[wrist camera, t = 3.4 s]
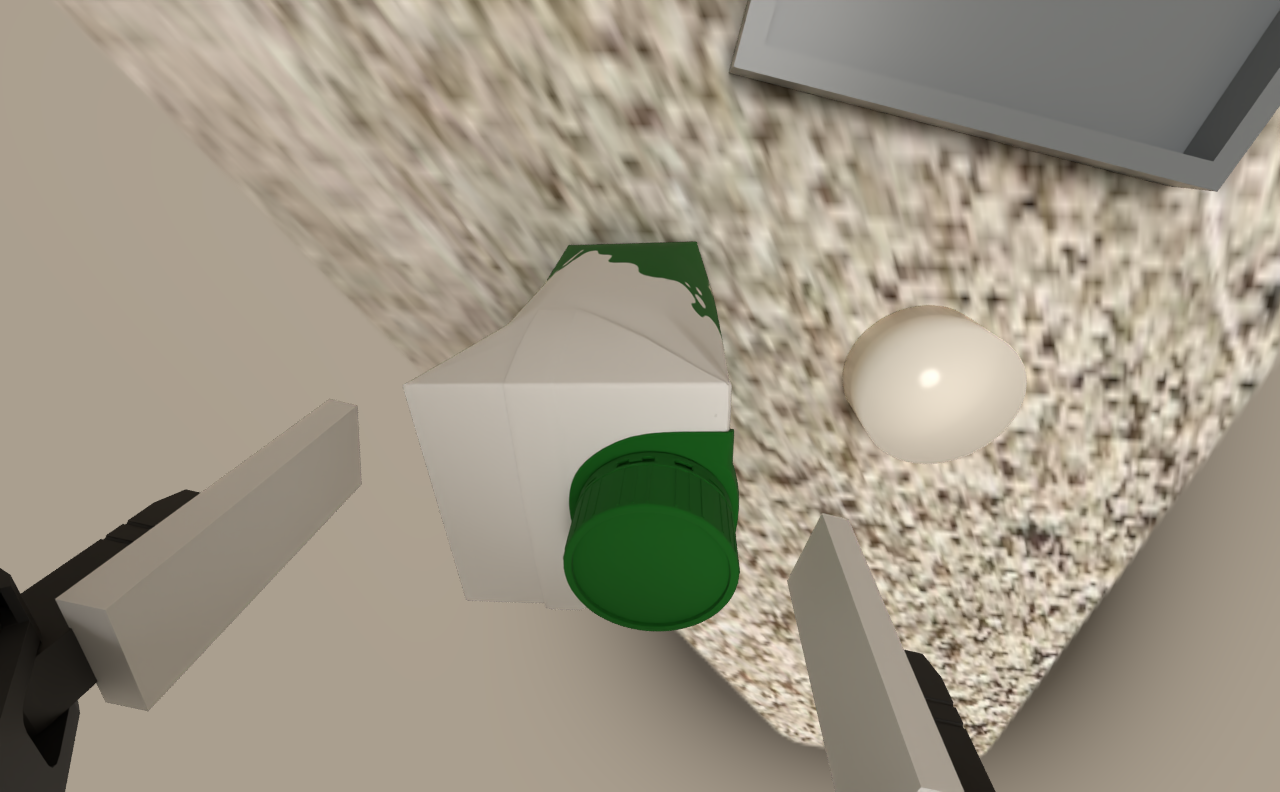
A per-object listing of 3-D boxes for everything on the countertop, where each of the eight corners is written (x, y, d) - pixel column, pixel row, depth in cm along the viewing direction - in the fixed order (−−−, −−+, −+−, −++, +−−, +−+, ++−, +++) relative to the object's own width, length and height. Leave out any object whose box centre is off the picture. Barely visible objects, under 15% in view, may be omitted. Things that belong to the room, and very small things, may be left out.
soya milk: (710, 371, 31) (746, 697, 13) (565, 372, 31) (415, 680, 14) (714, 222, 27) (774, 402, 9) (547, 227, 27) (301, 403, 10)
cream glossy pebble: (821, 410, 31) (838, 445, 28) (876, 289, 28) (904, 312, 24) (941, 438, 32) (973, 477, 28) (1013, 322, 28) (1060, 350, 24)
